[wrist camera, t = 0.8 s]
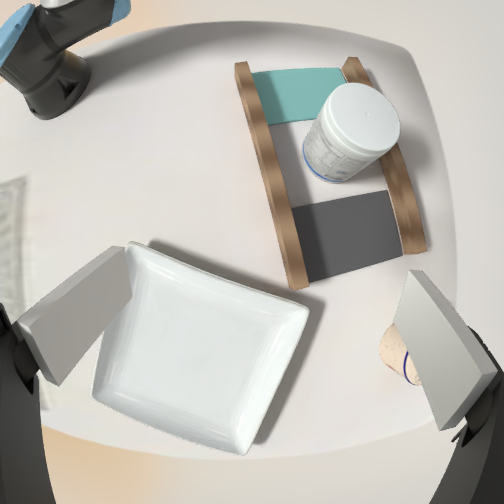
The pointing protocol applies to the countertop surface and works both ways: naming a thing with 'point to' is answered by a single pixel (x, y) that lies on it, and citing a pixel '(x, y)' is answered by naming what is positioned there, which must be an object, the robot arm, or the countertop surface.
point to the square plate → (195, 352)
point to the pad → (295, 92)
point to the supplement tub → (350, 133)
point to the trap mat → (346, 234)
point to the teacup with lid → (397, 355)
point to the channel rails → (277, 191)
